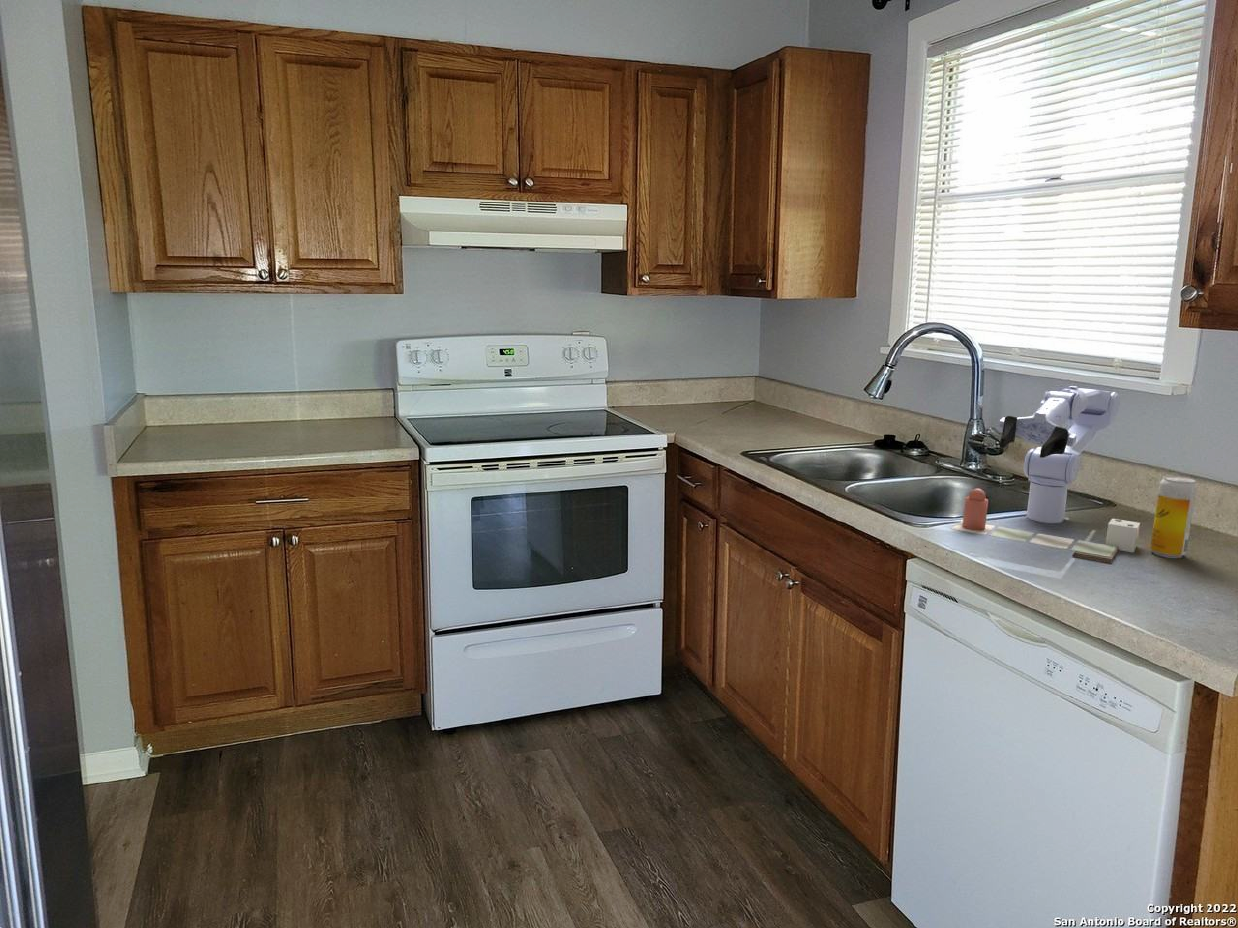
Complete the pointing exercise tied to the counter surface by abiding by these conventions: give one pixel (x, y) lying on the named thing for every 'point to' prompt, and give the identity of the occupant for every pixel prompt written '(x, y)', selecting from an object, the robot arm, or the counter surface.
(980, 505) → the pawn
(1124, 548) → the die
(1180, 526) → the beer can
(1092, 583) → the counter surface
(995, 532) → the board
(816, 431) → the counter surface
